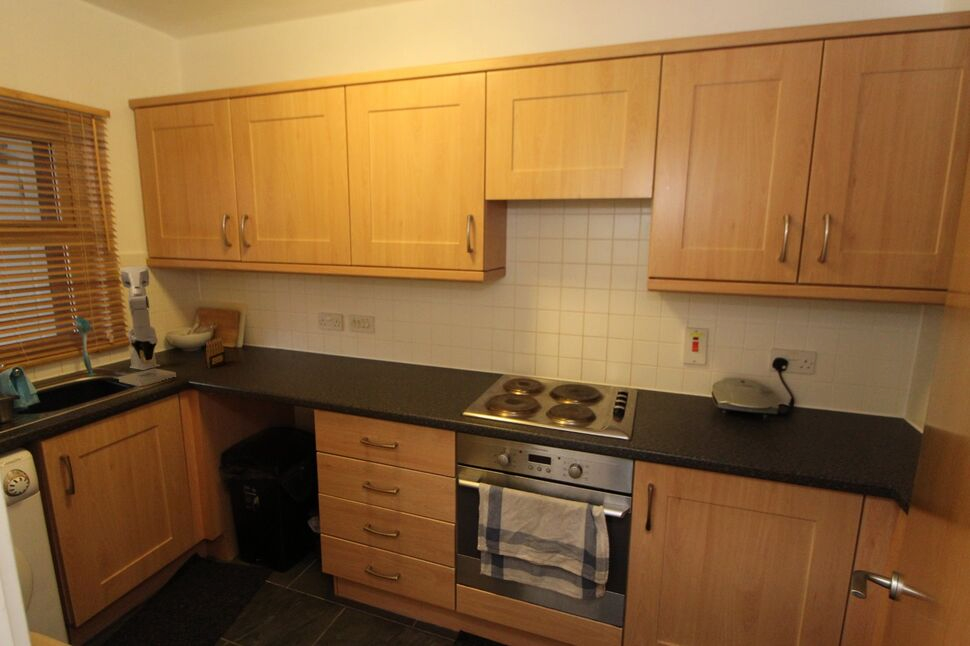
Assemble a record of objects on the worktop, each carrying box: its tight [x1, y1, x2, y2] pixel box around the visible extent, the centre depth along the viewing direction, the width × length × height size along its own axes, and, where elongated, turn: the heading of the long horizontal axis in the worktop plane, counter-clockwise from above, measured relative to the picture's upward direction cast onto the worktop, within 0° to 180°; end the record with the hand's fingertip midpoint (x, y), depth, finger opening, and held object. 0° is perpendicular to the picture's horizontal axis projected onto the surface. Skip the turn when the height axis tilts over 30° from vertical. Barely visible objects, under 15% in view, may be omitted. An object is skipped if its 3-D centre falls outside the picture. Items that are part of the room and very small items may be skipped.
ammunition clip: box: [205, 336, 227, 369], centre depth 223 cm, size 11×2×12 cm, turn 172°
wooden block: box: [139, 350, 154, 364], centre depth 201 cm, size 3×3×6 cm
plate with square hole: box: [118, 367, 177, 387], centre depth 202 cm, size 14×14×2 cm
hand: (145, 359), depth 201 cm, fingers closed on wooden block, 3 cm apart
